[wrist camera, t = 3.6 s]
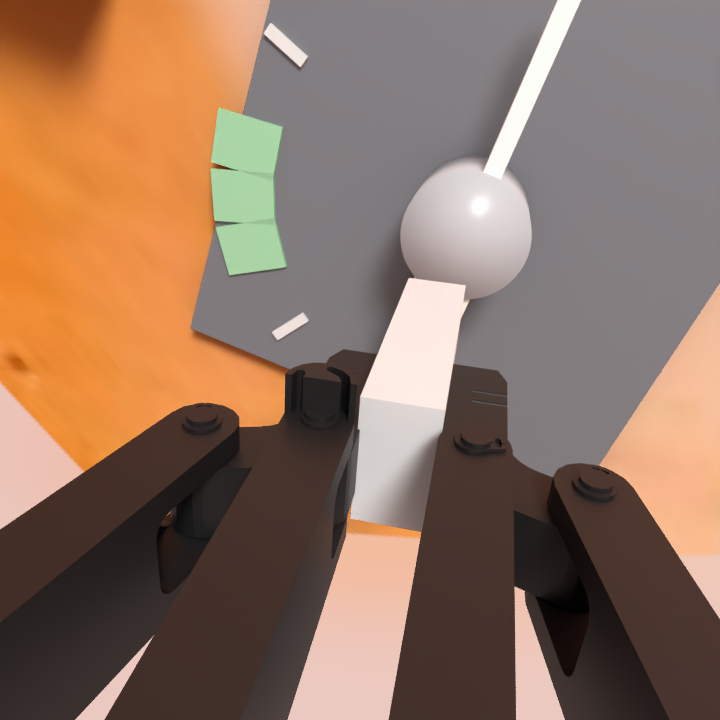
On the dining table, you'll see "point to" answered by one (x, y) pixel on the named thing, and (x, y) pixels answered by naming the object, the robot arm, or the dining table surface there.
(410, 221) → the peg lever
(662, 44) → the dial board
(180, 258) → the dining table surface
